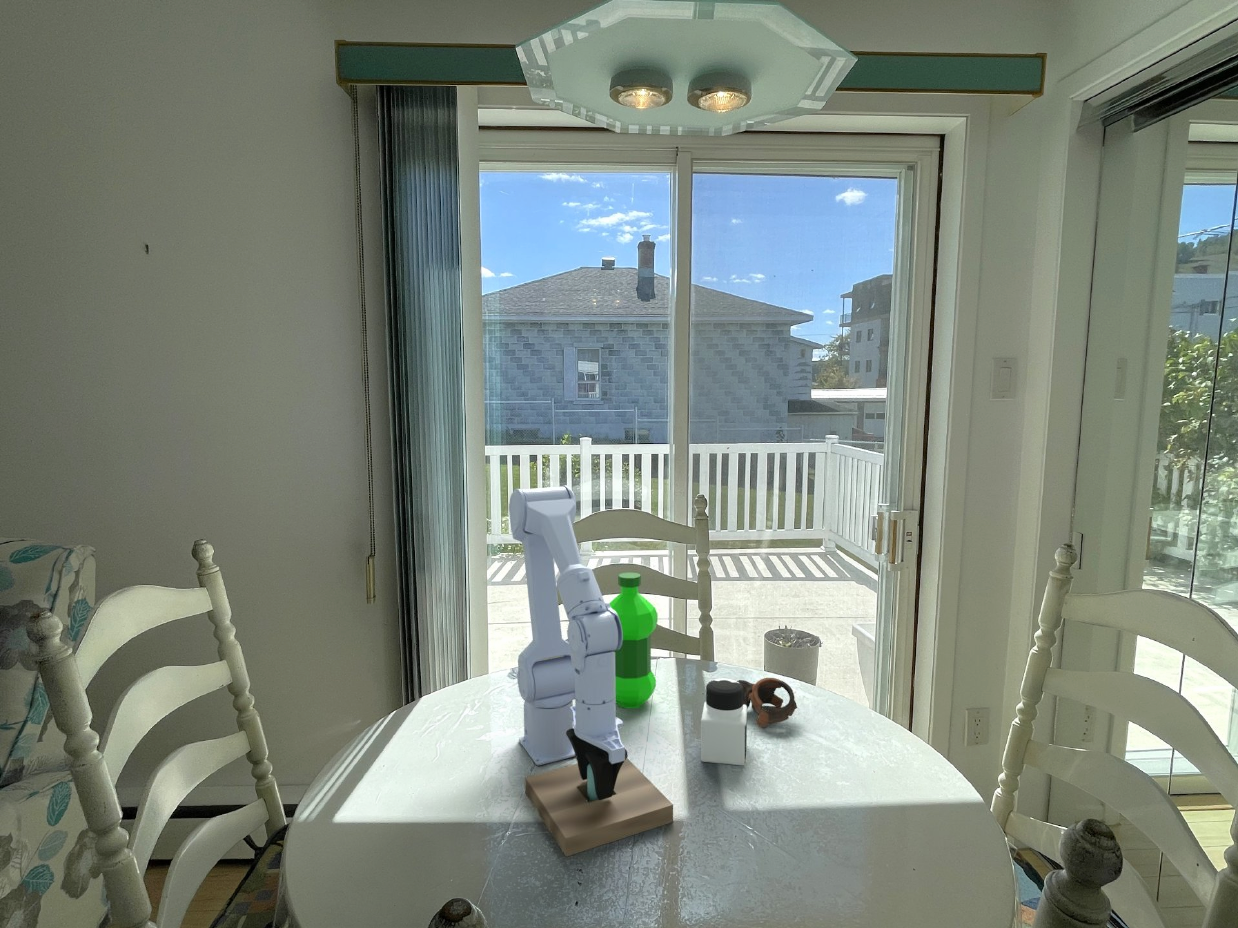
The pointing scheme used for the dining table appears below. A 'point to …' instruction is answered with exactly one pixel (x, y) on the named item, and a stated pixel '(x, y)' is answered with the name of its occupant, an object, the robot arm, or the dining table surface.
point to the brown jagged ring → (768, 700)
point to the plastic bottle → (634, 643)
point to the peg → (591, 785)
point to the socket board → (596, 807)
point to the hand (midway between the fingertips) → (596, 786)
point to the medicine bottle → (724, 723)
